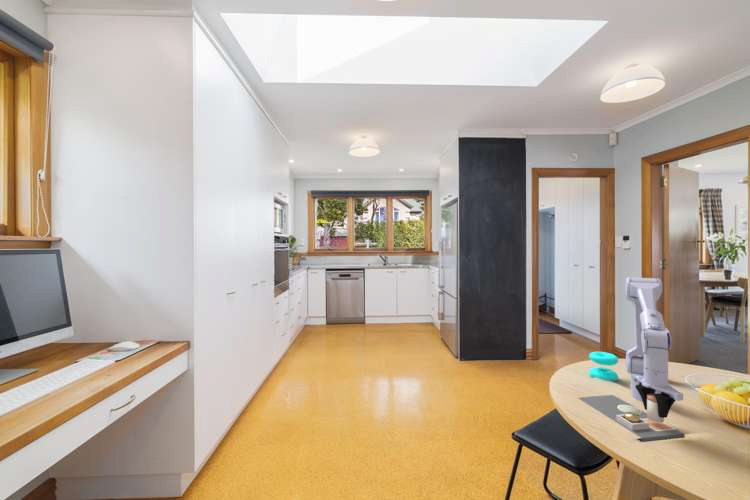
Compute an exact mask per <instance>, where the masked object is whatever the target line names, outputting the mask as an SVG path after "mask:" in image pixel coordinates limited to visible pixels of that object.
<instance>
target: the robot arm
mask: <svg viewBox="0 0 750 500" xmlns="http://www.w3.org/2000/svg"><path fill="white" fill-rule="evenodd" d="M624 281H625V282H624V283H625V284H624V285H625V287H624V288H625V297H626V300H628V301H630V302H631V303H632V305H633V315H634V316H633V319H634V320H633V321H634V347H632V348H631V349H628V350H627V351H626V353H625V369H626V373H628V374H630V396H631V397H632V398H633V399H635V400H637V401H641V402H642V404H643V408H644V410H645V411H647V394H648V393H653V394H654V395H655V398H656V400H657V404H658V415H659V417H661V418H664V419H665V418H668V415H669V412H670V410H671V407H672V406H673V405H674V403H675V402H676V401H678V402H679V401H680V402H681V401H684V393H682V392H681V391H679V390H677V389H676V388H674V387H673V386H671V385H669V351H670V350H671V348H672V337H671V332H670V330H668V327H666V325H665V321H664V316H663V314H662V313H661V312H659V311H658V310H657V302H658V301H659V299H660V297H661V295H662V293H663V282H662V280H661V279H660V278H659V277H656V278H653V277H630V276H628V277H626V278H625V280H624Z"/></svg>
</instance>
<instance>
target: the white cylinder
mask: <svg viewBox="0 0 750 500" xmlns="http://www.w3.org/2000/svg"><path fill="white" fill-rule="evenodd" d="M646 413H647V418H648V419H650V420H652V421H655V422H664V423H665V418H661V417H659V415H658V404H657V400H656V398H655V395H654V394H653V393H648V394H647V410H646Z"/></svg>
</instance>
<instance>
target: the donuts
mask: <svg viewBox="0 0 750 500" xmlns="http://www.w3.org/2000/svg"><path fill="white" fill-rule="evenodd" d="M588 357H589V360H591V361H592V363H595V364H597V365H601V366H614V365H617V364H618V363H619V358H618V357H617V356H616V355H615V354H613V353H609V352H605V351H593V352H590V353H589V355H588ZM601 366H600V367H599V366H597V367H591V368H590V369H589V371H588V374H589V375H590V377H592V378H593V379H600V380H604V381H605V380H606V381H611V382H613V383H614V382H616V381H617V380H618V379H619V375H618V373H617V372H616V371H614V370H612V369H610V368H607V367H601Z"/></svg>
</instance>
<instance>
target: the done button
mask: <svg viewBox="0 0 750 500" xmlns="http://www.w3.org/2000/svg"><path fill="white" fill-rule="evenodd" d="M625 419H626V420H628V421H629V422H631V423H640V416H639V415H638V414H635V413H632V412H625Z"/></svg>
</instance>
